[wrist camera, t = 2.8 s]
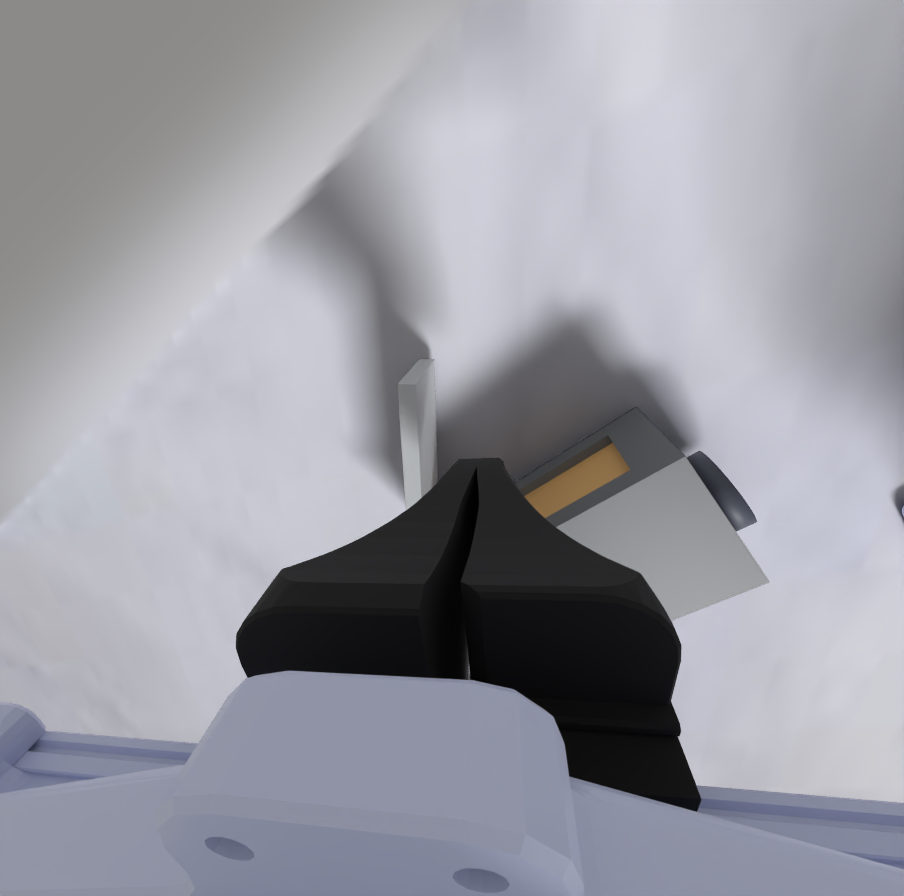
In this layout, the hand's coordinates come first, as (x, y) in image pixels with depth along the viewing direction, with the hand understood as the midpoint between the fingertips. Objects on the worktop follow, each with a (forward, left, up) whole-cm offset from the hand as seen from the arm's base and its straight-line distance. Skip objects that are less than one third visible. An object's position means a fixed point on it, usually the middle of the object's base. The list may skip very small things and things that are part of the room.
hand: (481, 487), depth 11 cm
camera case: (0, +6, -5) cm, 8 cm away
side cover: (+3, 0, -5) cm, 6 cm away
